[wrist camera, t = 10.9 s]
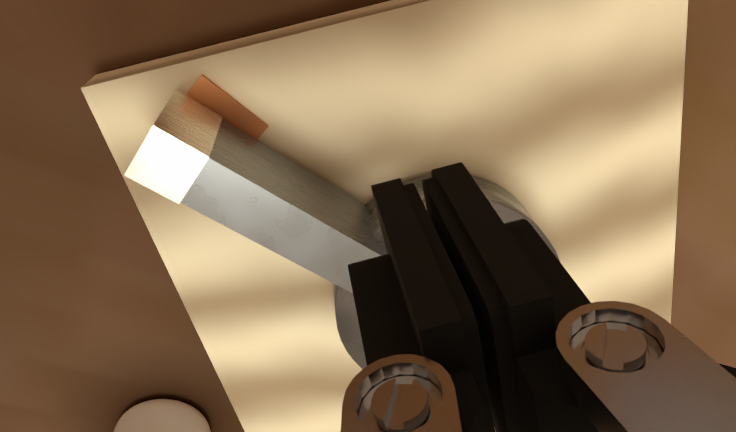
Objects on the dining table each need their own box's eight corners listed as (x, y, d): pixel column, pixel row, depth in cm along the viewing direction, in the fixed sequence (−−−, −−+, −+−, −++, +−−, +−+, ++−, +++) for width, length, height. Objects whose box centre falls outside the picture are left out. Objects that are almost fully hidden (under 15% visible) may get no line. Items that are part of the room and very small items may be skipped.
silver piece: (580, 240, 28) (633, 303, 23) (448, 375, 31) (473, 453, 27) (228, -1, 21) (211, 24, 17) (107, 205, 24) (66, 272, 20)
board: (96, 74, 24) (78, 89, 22) (662, -69, 24) (695, -66, 22) (269, 451, 36) (267, 482, 34) (649, 357, 35) (669, 383, 34)
